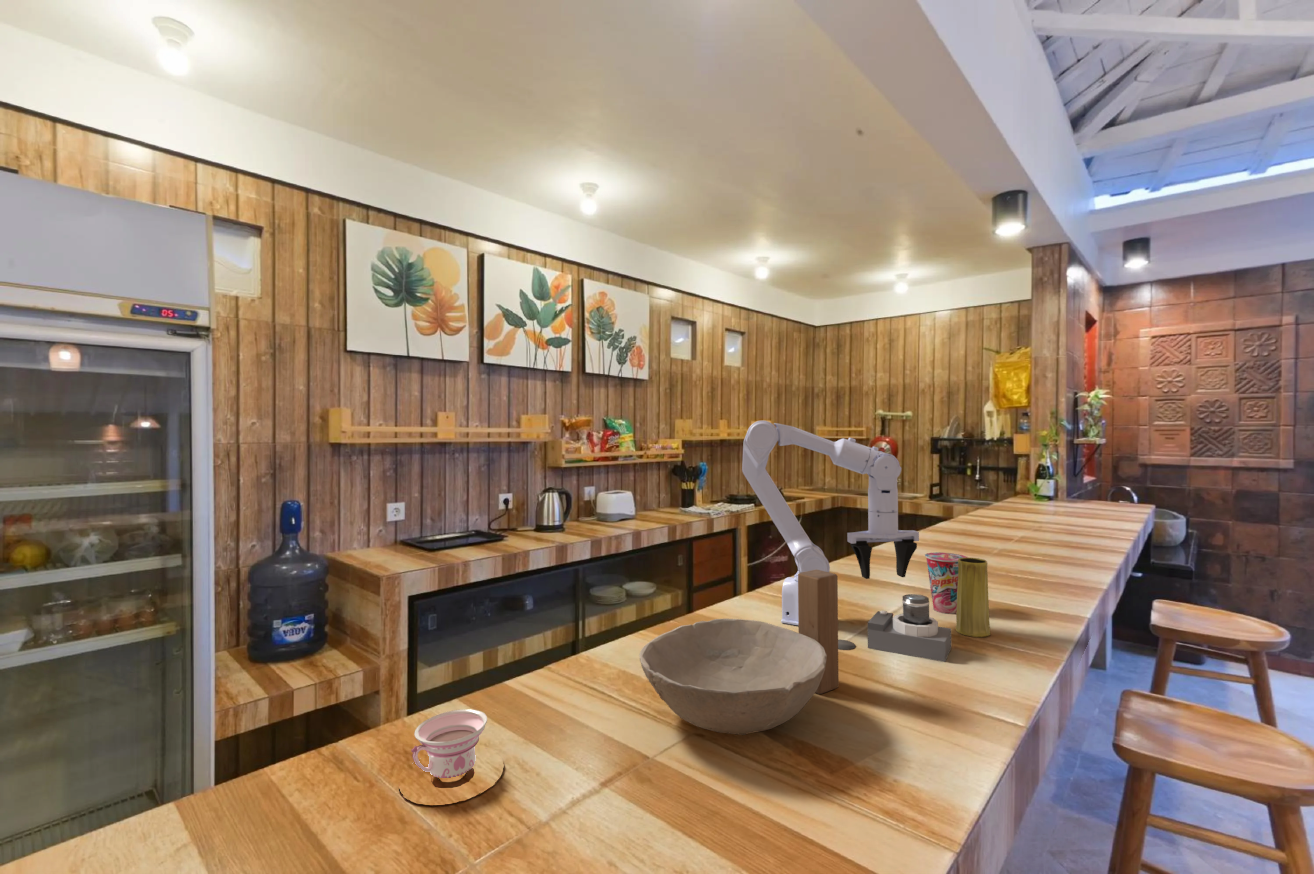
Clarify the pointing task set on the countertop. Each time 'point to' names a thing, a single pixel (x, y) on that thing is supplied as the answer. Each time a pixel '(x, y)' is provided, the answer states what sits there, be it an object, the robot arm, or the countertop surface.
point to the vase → (972, 598)
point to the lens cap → (845, 645)
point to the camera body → (908, 637)
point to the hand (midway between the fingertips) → (883, 576)
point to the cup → (943, 580)
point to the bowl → (734, 673)
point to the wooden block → (820, 619)
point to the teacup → (449, 742)
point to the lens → (915, 609)
